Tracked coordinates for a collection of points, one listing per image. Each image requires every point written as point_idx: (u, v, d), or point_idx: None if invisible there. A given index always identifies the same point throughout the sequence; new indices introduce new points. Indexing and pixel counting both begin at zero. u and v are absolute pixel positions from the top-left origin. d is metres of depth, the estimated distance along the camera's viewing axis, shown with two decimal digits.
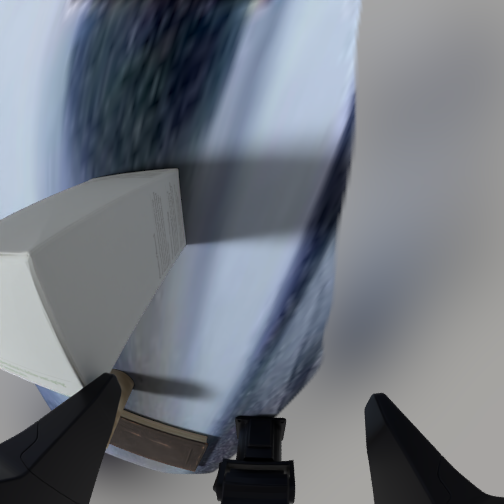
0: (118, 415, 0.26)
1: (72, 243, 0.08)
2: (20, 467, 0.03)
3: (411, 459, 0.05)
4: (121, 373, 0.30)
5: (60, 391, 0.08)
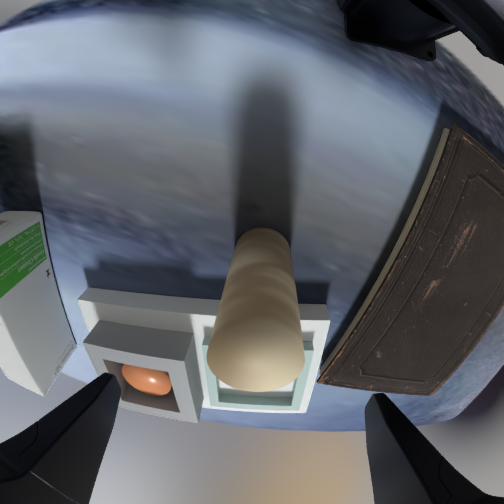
0: (262, 267, 0.14)
1: (1, 366, 0.17)
2: (20, 467, 0.03)
3: (411, 459, 0.05)
4: (237, 242, 0.19)
5: (51, 384, 0.20)
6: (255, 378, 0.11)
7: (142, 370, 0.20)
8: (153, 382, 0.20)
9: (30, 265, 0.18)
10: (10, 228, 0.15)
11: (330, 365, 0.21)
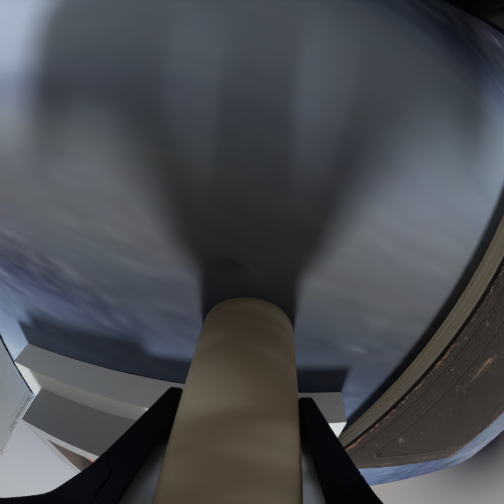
0: (236, 425, 0.06)
1: None
2: None
3: (321, 474, 0.05)
4: (205, 319, 0.11)
5: (7, 441, 0.12)
6: None
7: None
8: None
9: None
10: None
11: None
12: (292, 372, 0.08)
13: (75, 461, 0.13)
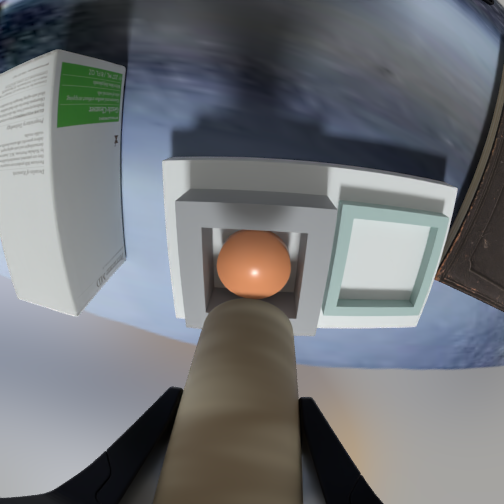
0: (237, 427, 0.06)
1: (13, 276, 0.14)
2: None
3: (321, 474, 0.05)
4: (205, 320, 0.11)
5: (88, 301, 0.16)
6: None
7: (254, 251, 0.16)
8: (264, 272, 0.17)
9: (102, 114, 0.14)
10: (95, 58, 0.12)
11: (448, 253, 0.18)
12: (292, 374, 0.08)
13: (206, 289, 0.17)
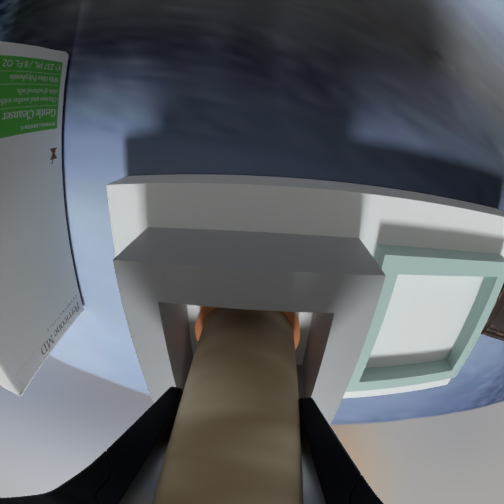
0: (236, 430, 0.06)
1: None
2: None
3: (321, 474, 0.05)
4: (205, 321, 0.11)
5: (33, 373, 0.10)
6: None
7: None
8: None
9: (26, 121, 0.08)
10: (16, 43, 0.05)
11: (496, 300, 0.12)
12: (293, 375, 0.08)
13: (177, 375, 0.11)
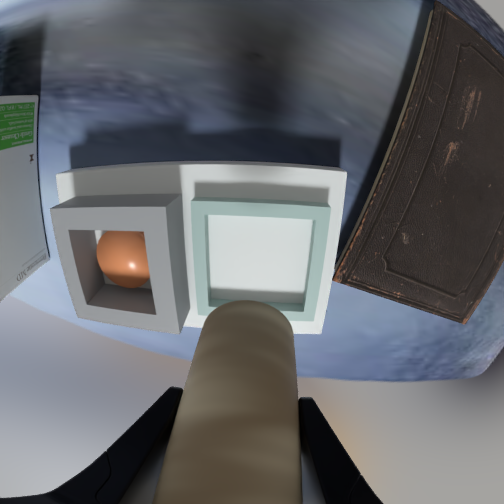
0: (236, 431, 0.06)
1: None
2: None
3: (321, 474, 0.05)
4: (204, 322, 0.11)
5: (10, 292, 0.16)
6: None
7: (120, 244, 0.17)
8: (131, 263, 0.18)
9: (15, 140, 0.14)
10: None
11: (348, 250, 0.18)
12: (292, 376, 0.08)
13: (84, 283, 0.17)
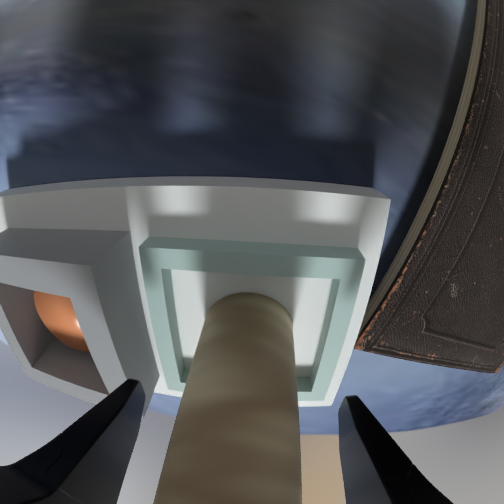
0: (238, 414, 0.06)
1: None
2: (47, 484, 0.03)
3: (378, 466, 0.05)
4: (207, 314, 0.11)
5: None
6: None
7: (58, 299, 0.11)
8: (75, 323, 0.11)
9: None
10: None
11: (379, 310, 0.12)
12: (291, 364, 0.09)
13: (25, 343, 0.11)
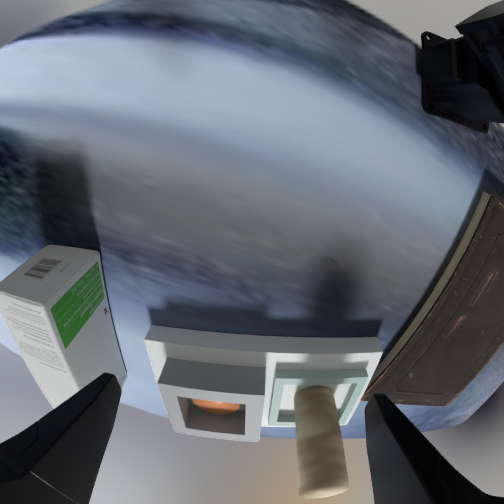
0: (325, 437, 0.18)
1: (51, 402, 0.19)
2: (20, 467, 0.03)
3: (411, 459, 0.05)
4: (297, 395, 0.23)
5: None
6: (322, 495, 0.15)
7: None
8: (223, 403, 0.23)
9: (91, 308, 0.19)
10: (71, 273, 0.17)
11: (372, 385, 0.23)
12: (337, 415, 0.20)
13: (184, 417, 0.22)
